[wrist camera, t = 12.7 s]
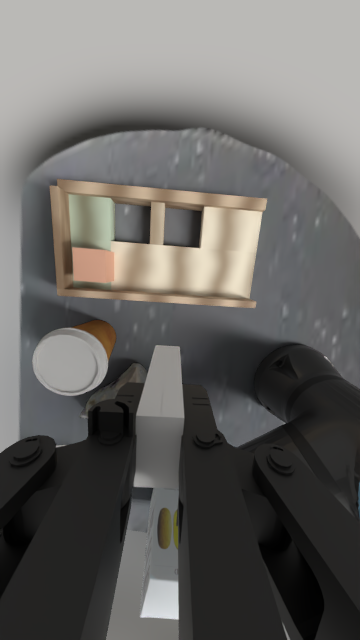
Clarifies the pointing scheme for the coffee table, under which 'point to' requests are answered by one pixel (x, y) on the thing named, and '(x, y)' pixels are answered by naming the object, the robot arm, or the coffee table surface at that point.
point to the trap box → (158, 245)
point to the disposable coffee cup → (74, 357)
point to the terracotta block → (93, 265)
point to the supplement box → (161, 557)
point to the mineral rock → (116, 386)
